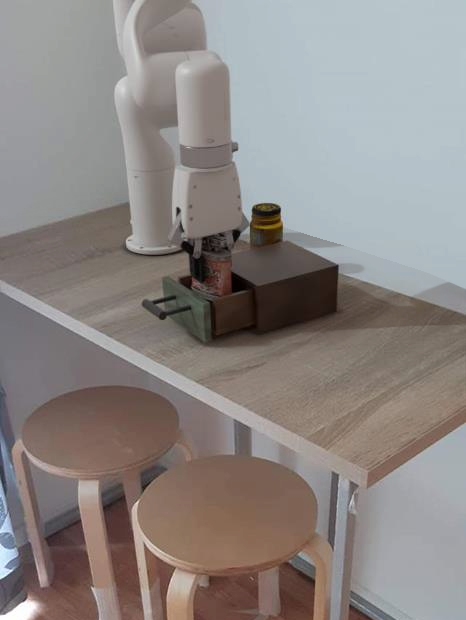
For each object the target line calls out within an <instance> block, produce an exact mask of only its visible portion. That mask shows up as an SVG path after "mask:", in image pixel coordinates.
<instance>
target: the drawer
mask: <svg viewBox="0 0 466 620" xmlns="http://www.w3.org/2000/svg"><path fill="white" fill-rule="evenodd" d="M161 280H162V282H161V283H162V293H163V297H161V298H156V299H152V300H150V299H148V298H145V299H143V300H142V301H141V306H142V308H144V309H145V310H146V311H148V312H149V313H150V314H152V315H153V316H154V317H156V318H157V319H159V320H160V321H164V320H166V319H167V317H169V318H170V319H172V320H173V321H174V322H176V323H177V324H178V325H180V326H181V327H183V328H184V329H185V330H187V331H188V332H190V333H191V334H192V335H194V336H195V337H196V338H198V339H199V340H201V342H203V343H208V342H212V341H213V340H212V334H214V335H215V336H219V335H223V334H226V333H230V332H234V331H236V330H240V329H245V328H248V326H251V325H255V324H256V311H255V289H254V288H252V287H250V286H249V285H247V284H245V283H243V282H242V281H240V280H238V279H236V278H235V277H233V276H231V290H232V293H233V294H229V295H225V296H222V297H218V298H214V299H213V301H211V300H208V299H205V298H202V297H200V296H199V295H197V294H196V293H194V292H192V285H193V284H192V276H191V274H190V273H187V274H182V275H179V276H177V280H175V278H172V277H171V276H169V275H167V276H163V277H162V278H161ZM162 303H163V306H164V309H162V308H161V307H159V306H158V305H159V304H162Z"/></svg>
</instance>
